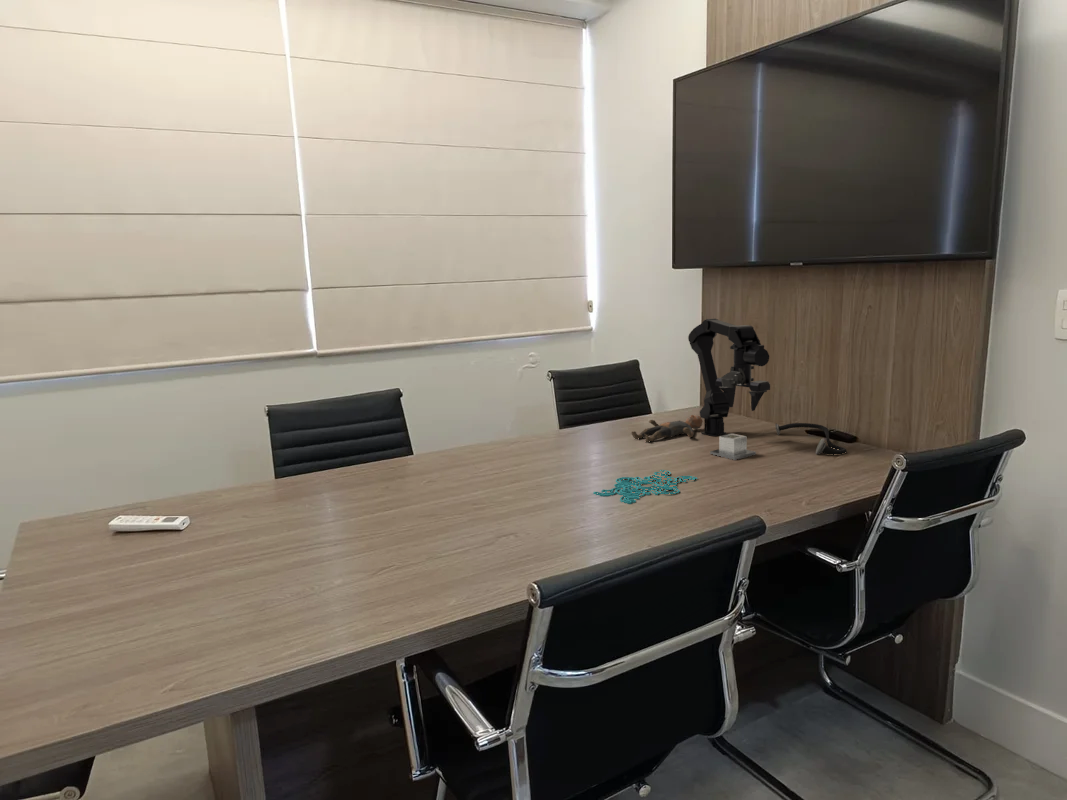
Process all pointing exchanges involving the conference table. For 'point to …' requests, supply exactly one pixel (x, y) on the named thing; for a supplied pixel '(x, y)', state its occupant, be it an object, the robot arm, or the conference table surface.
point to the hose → (821, 446)
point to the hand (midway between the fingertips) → (742, 408)
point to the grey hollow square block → (733, 444)
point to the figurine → (670, 429)
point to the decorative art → (632, 496)
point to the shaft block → (731, 456)
